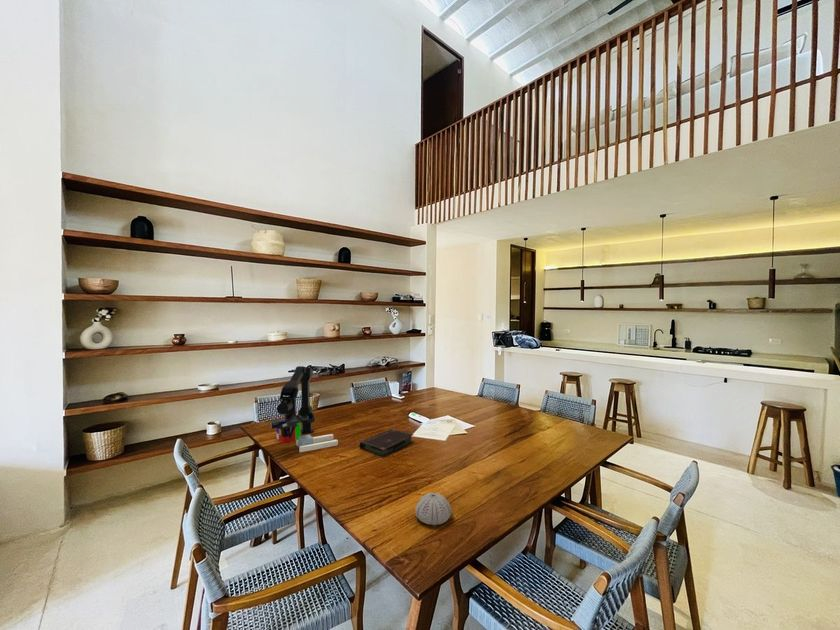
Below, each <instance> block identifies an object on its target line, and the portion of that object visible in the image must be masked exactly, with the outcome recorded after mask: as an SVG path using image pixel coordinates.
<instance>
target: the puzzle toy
mask: <svg viewBox="0 0 840 630" xmlns="http://www.w3.org/2000/svg"><path fill="white" fill-rule="evenodd" d="M279 421H284V419H282V420H279ZM297 424H298V426H296V427H295V429H294V431H293V434H292V437H291V438H289V435H288V432H287V430H286V428H283V426H282V425H280V426H279V428H275V429H276V430H275V431H276V439H277V440H278V441H280V442H281V443H283V444H287V443H289V442H293V441H296V440H298V437H300V436H302V432H301V430H302V422H299V423H297ZM289 429H290V427H289Z"/></svg>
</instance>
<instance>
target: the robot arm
mask: <svg viewBox="0 0 840 630" xmlns="http://www.w3.org/2000/svg"><path fill="white" fill-rule="evenodd" d="M313 374H314V369H313V368H312V366H311V367H310V366H308V367H306V366H303V365H302V366H301V365H298V366H296V367H295V370H294V373H293V374H292V376H291V378H290V380H289V381H287V382H285V384H284V385H283V387H282V388H281V391H280V394H279V395H280V396H279V399H278V400H279V401H280V403H278V405H277V407H276V411H277V413H278V414H279V415H283V418H284V419H283V420H284V421H280V420H279V419H273V420H271V421H270V428H271V430H272V429H276V428H279V426H280V425H282V426H283V428H286V430H287V432H288V435H289V438H291V437H292V434H293V431H294V429H295V427H296V426H298V424H297V423H299V422H301V435H302V434H303V435H304V434H309V433H310V434H311V433H314V430H313V428H312V427H313V426H312V425H313V424H312V423H314V422H315V421H316V416H315V413H314V410H313V407H312V406H311V404H310V399H311V398H310V381H311V380H312V377H313ZM299 384H300V388H301V391H300V389H299V387H298V386H299ZM299 391H300V393H301V395H300V397H301V407H299V410H298V412H297V411H296V410H297V407H296V406H297V404H296V403H297V402H296V401H297V400H296V399H297V398H298V395H299ZM289 427H290V429H289Z"/></svg>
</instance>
